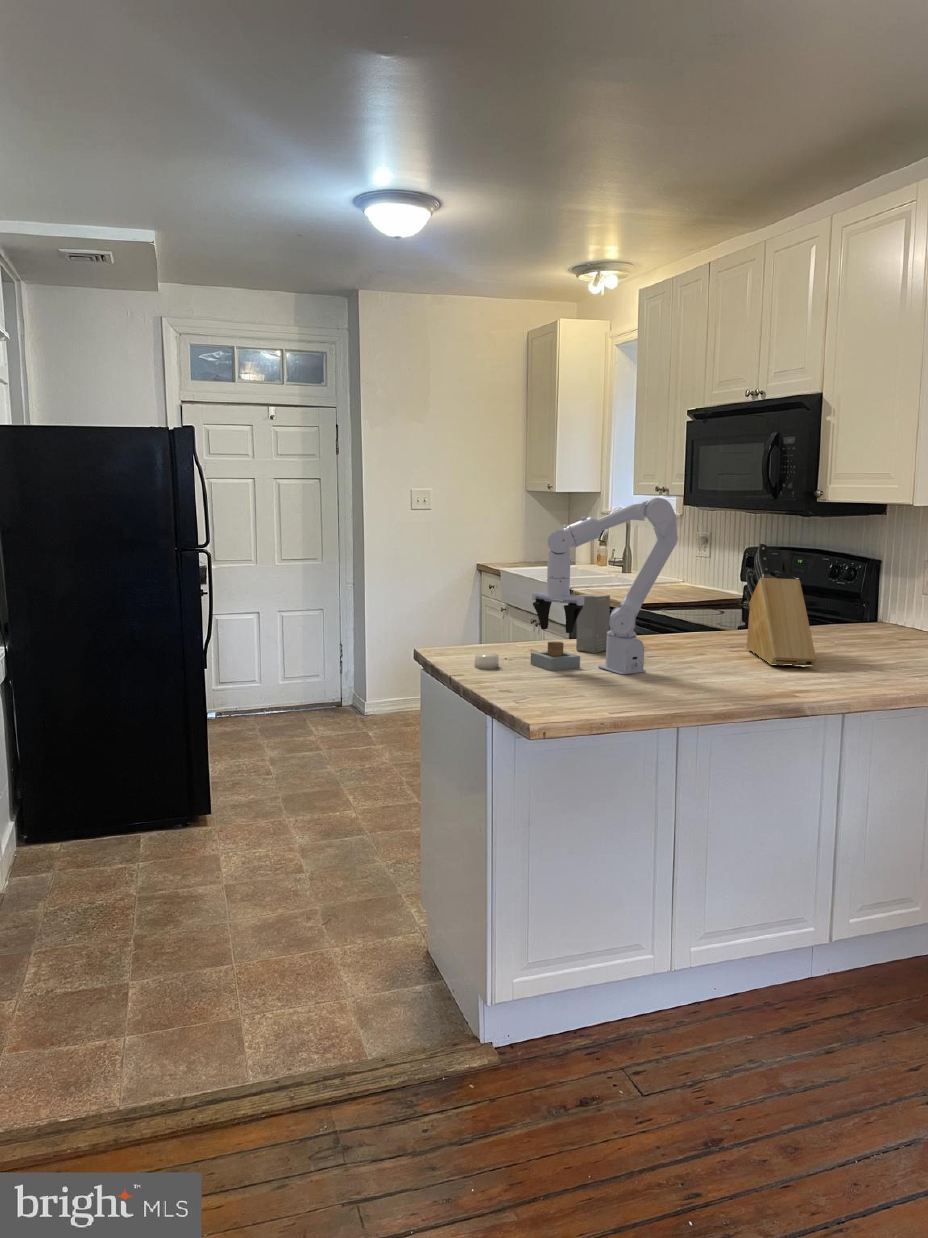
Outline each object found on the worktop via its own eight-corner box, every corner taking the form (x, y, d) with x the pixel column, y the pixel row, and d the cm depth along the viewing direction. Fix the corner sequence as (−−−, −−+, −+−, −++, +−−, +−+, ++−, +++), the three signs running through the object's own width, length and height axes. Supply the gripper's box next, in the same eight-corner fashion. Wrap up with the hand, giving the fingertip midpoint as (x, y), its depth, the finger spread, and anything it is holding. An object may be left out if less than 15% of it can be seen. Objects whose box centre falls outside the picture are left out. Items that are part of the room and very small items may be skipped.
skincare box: (595, 654, 246) (598, 596, 244) (573, 650, 250) (575, 594, 248) (610, 649, 253) (613, 594, 250) (588, 646, 257) (590, 591, 254)
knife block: (776, 646, 265) (784, 541, 260) (816, 671, 230) (826, 550, 226) (737, 645, 266) (745, 540, 261) (772, 669, 231) (781, 549, 226)
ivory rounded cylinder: (503, 666, 226) (503, 654, 226) (487, 670, 222) (487, 658, 221) (486, 663, 230) (486, 651, 230) (469, 666, 226) (469, 655, 225)
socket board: (579, 667, 227) (580, 656, 227) (550, 670, 223) (551, 658, 222) (558, 661, 235) (559, 649, 234) (530, 664, 230) (530, 652, 230)
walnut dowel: (565, 667, 227) (566, 644, 226) (550, 668, 226) (551, 644, 225) (558, 664, 231) (559, 641, 230) (544, 664, 230) (545, 641, 229)
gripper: (591, 578, 224) (589, 632, 226) (543, 574, 233) (542, 625, 235) (576, 580, 218) (574, 635, 220) (528, 575, 227) (526, 628, 230)
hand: (556, 630), depth 227 cm, fingers open, 7 cm apart
